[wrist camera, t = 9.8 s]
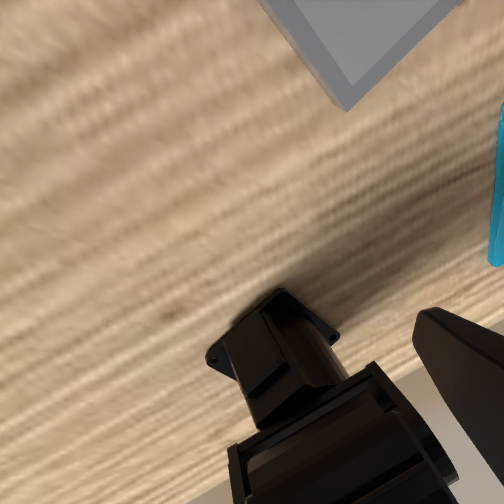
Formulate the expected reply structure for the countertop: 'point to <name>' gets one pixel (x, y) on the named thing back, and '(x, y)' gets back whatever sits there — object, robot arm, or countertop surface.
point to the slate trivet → (354, 38)
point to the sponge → (498, 203)
